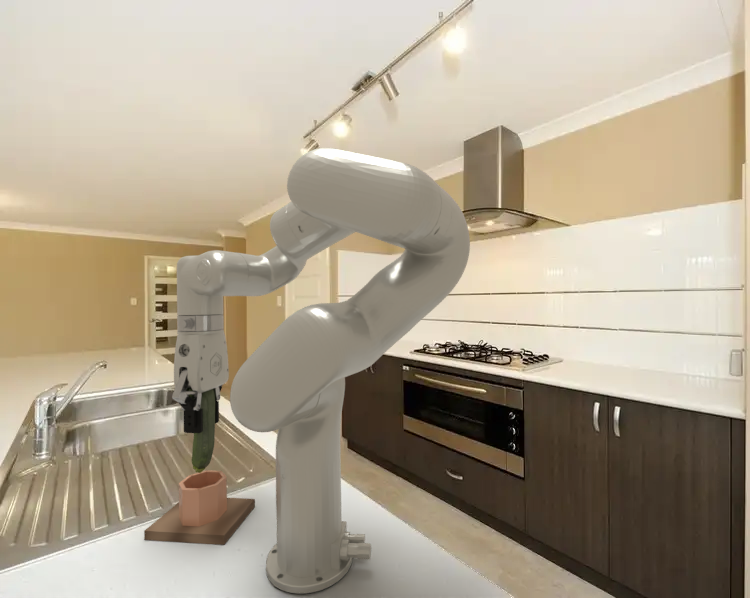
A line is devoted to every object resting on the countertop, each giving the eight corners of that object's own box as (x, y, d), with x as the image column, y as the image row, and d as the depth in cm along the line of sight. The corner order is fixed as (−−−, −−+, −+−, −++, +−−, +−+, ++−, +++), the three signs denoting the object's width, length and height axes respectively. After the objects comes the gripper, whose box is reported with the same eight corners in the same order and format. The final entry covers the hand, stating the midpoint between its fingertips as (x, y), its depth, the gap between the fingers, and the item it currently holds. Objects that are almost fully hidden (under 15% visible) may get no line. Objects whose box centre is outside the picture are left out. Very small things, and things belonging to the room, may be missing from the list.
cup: (232, 503, 68) (232, 471, 68) (210, 527, 61) (210, 490, 61) (196, 501, 69) (196, 469, 69) (171, 524, 61) (170, 489, 62)
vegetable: (219, 467, 67) (218, 359, 67) (209, 478, 63) (208, 362, 63) (195, 468, 67) (194, 359, 67) (183, 479, 62) (182, 363, 63)
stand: (254, 506, 69) (254, 498, 69) (224, 544, 58) (224, 535, 58) (186, 503, 71) (186, 495, 71) (144, 539, 60) (144, 530, 60)
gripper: (191, 328, 56) (192, 446, 56) (243, 322, 73) (244, 413, 73) (147, 328, 57) (148, 445, 57) (208, 323, 74) (209, 413, 74)
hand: (202, 426), depth 65 cm, fingers closed on vegetable, 4 cm apart
